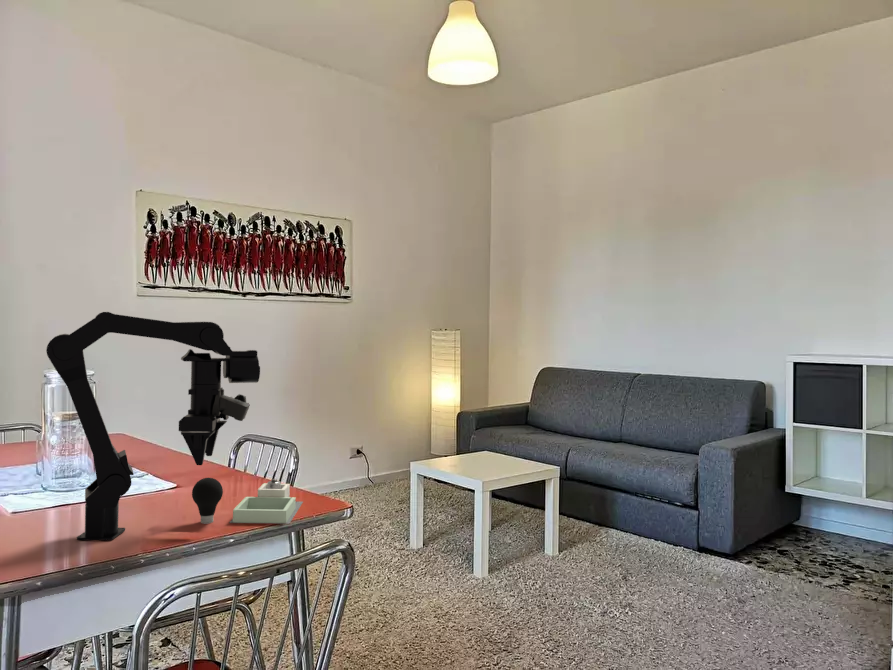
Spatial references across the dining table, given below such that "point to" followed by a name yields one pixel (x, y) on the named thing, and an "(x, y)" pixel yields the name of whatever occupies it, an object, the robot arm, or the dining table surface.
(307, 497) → the dining table surface
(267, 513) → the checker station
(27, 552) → the dining table surface
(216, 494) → the light bulb
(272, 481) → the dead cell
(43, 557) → the dining table surface
